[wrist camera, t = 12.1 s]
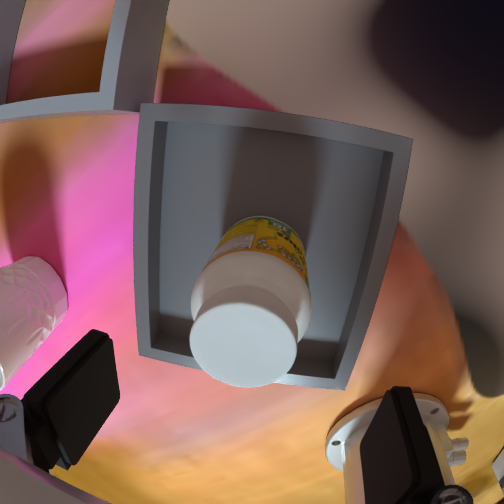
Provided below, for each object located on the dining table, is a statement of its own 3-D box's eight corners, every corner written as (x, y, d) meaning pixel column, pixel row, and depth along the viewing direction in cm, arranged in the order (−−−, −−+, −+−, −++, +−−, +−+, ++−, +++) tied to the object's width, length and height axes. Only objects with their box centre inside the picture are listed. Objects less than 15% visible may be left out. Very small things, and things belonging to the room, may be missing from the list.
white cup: (43, 234, 23) (-44, 282, 14) (89, 315, 25) (20, 386, 16) (3, 267, 25) (-67, 312, 15) (43, 335, 27) (-17, 393, 17)
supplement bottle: (205, 235, 20) (143, 311, 11) (283, 199, 19) (278, 256, 10) (243, 305, 22) (214, 410, 13) (318, 276, 20) (335, 377, 11)
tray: (397, 138, 18) (413, 139, 15) (340, 366, 24) (344, 390, 21) (159, 106, 19) (140, 103, 16) (152, 334, 25) (138, 355, 22)
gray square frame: (189, -77, 13) (168, -111, 9) (151, 114, 19) (112, 109, 14) (30, -33, 14) (-3, -47, 10) (-2, 123, 20) (-44, 127, 15)
